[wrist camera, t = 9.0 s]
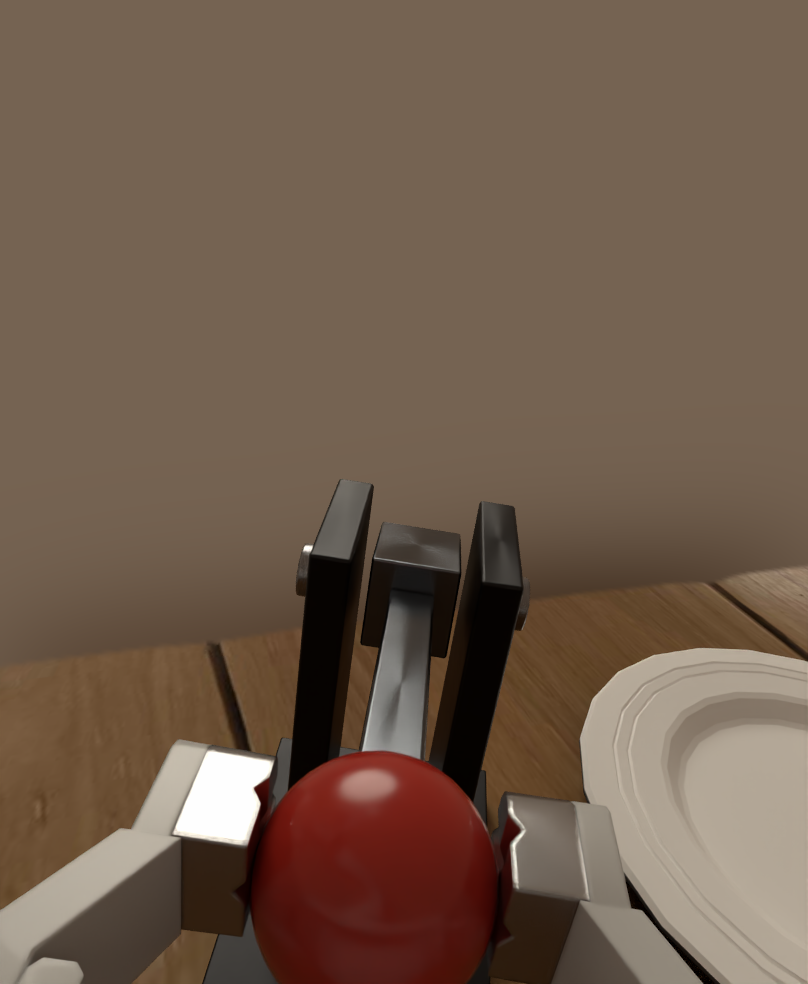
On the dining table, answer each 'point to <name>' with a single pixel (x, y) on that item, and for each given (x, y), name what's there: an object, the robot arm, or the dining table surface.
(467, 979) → the lever
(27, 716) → the dining table surface
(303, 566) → the switch bracket
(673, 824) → the plate
